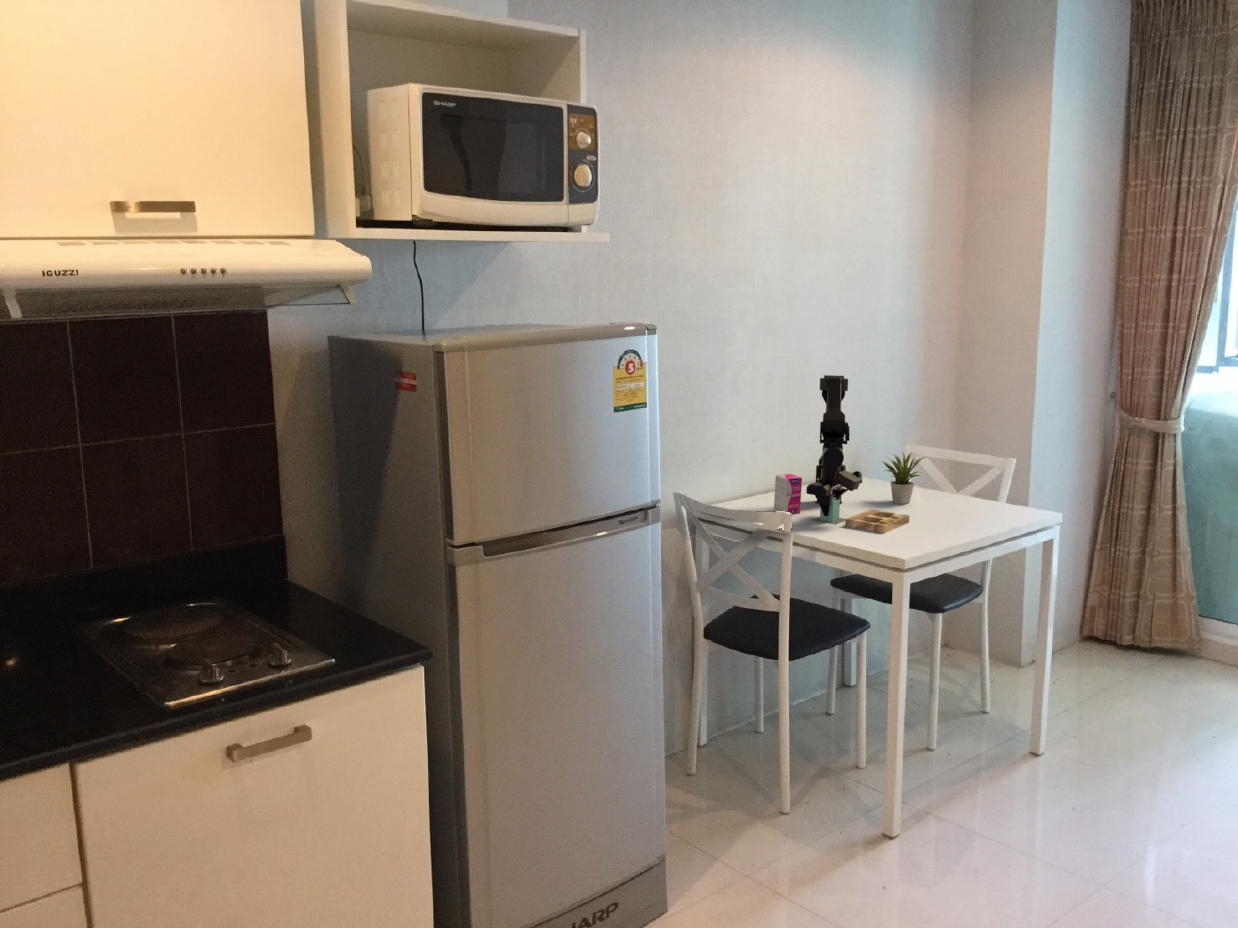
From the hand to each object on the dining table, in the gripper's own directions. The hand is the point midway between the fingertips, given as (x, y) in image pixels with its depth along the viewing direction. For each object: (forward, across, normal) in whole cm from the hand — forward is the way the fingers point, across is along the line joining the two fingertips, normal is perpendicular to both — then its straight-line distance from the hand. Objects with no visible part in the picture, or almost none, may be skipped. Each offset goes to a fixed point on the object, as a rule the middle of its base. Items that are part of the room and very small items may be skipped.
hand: (829, 514), depth 309 cm
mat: (+2, 0, 0) cm, 2 cm away
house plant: (+2, +38, -6) cm, 39 cm away
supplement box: (+2, 0, +14) cm, 14 cm away
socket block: (+2, +4, -13) cm, 14 cm away
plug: (+2, 0, 0) cm, 2 cm away
